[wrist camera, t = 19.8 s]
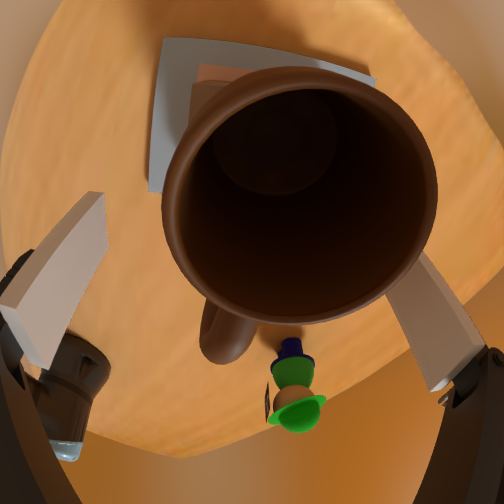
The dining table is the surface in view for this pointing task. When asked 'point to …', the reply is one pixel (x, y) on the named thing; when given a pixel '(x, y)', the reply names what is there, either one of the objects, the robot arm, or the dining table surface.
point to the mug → (295, 202)
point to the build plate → (187, 74)
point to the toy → (294, 389)
